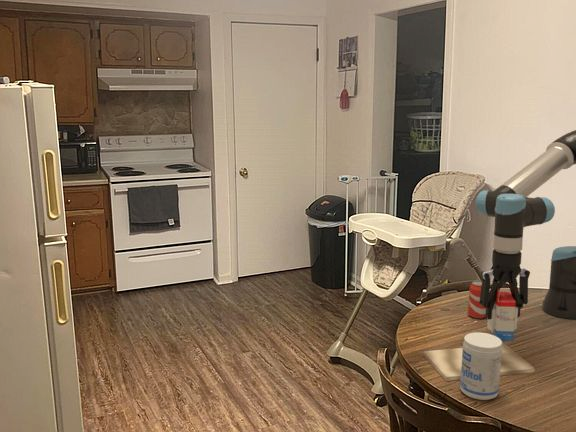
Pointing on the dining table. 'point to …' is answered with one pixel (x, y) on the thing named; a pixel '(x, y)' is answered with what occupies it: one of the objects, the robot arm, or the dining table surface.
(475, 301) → the beverage can
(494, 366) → the supplement tub
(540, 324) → the dining table surface
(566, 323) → the dining table surface
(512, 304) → the ink box
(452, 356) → the open book
